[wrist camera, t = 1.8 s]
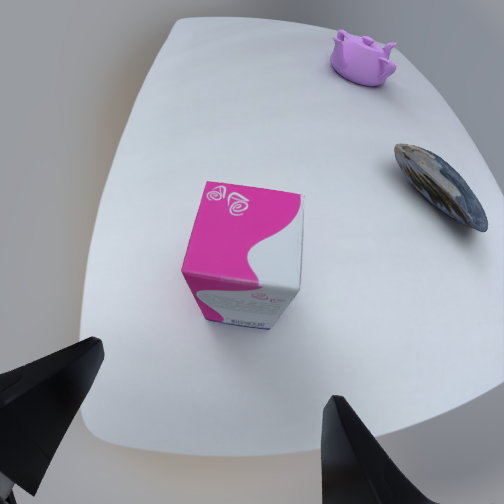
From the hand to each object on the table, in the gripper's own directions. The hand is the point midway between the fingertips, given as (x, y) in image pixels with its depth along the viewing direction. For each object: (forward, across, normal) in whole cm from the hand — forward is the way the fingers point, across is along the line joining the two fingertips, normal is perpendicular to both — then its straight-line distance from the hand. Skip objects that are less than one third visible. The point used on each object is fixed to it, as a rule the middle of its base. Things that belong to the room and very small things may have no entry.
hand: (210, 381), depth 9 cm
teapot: (+47, -12, -28) cm, 56 cm away
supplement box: (+15, 0, +4) cm, 15 cm away
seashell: (+26, -22, -7) cm, 35 cm away
